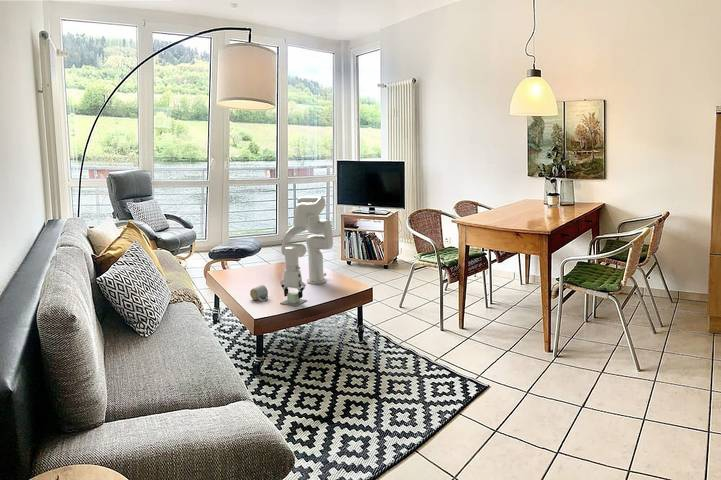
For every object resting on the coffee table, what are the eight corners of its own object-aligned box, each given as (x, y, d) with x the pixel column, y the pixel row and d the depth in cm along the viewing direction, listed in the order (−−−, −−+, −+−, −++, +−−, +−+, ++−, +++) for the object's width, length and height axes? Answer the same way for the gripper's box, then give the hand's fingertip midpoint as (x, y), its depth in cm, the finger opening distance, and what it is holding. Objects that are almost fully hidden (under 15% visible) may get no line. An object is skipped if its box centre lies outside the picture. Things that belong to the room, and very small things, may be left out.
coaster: (291, 298, 280) (291, 297, 280) (306, 300, 275) (306, 300, 275) (280, 303, 270) (280, 303, 270) (296, 306, 265) (296, 305, 265)
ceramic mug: (249, 299, 280) (248, 286, 278) (260, 295, 286) (260, 283, 284) (260, 303, 273) (260, 290, 271) (271, 299, 279) (271, 287, 277)
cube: (292, 299, 276) (292, 291, 275) (299, 300, 273) (299, 292, 272) (287, 302, 271) (287, 293, 270) (294, 303, 269) (294, 295, 268)
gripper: (308, 268, 268) (309, 297, 271) (283, 265, 276) (284, 293, 279) (300, 271, 261) (302, 300, 265) (275, 268, 269) (277, 296, 272)
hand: (293, 296), depth 272 cm, fingers open, 9 cm apart
